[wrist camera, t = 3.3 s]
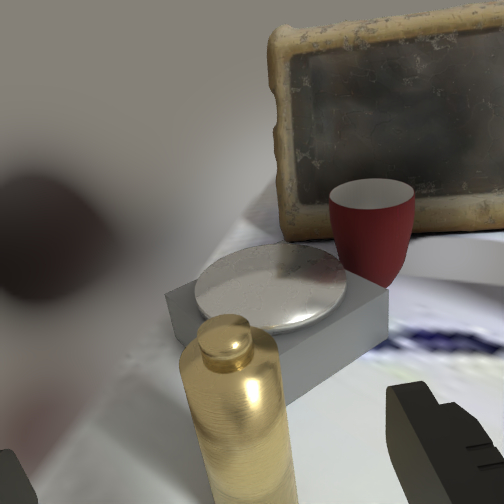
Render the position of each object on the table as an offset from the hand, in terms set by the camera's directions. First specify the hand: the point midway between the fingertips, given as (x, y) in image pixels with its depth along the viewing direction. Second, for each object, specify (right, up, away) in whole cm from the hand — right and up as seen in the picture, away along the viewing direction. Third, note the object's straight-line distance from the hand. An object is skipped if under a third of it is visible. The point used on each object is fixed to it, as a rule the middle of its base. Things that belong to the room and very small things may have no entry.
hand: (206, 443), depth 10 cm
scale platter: (+3, +1, +30) cm, 30 cm away
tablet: (+21, +8, +51) cm, 56 cm away
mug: (+14, +1, +40) cm, 43 cm away
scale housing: (+3, -4, +33) cm, 33 cm away
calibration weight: (+1, -12, +19) cm, 22 cm away
